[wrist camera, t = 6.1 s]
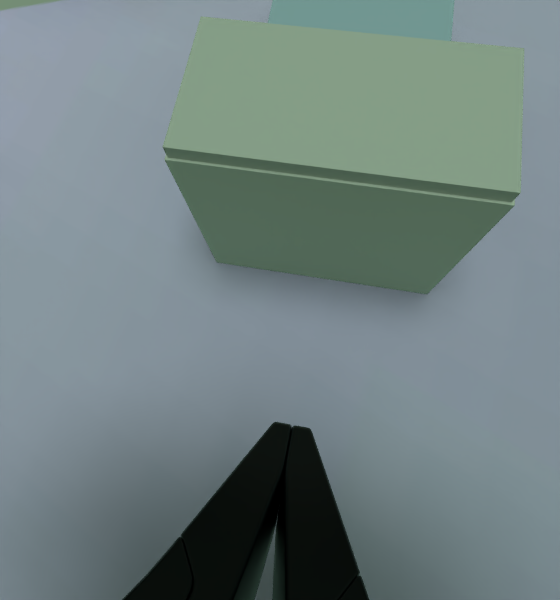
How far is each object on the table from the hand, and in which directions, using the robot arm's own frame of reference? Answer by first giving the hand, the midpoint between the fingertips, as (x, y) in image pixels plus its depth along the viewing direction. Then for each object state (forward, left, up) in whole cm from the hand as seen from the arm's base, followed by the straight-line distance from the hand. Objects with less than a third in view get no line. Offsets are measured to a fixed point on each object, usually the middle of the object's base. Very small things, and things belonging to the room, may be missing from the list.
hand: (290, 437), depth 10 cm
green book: (+11, +1, -13) cm, 17 cm away
